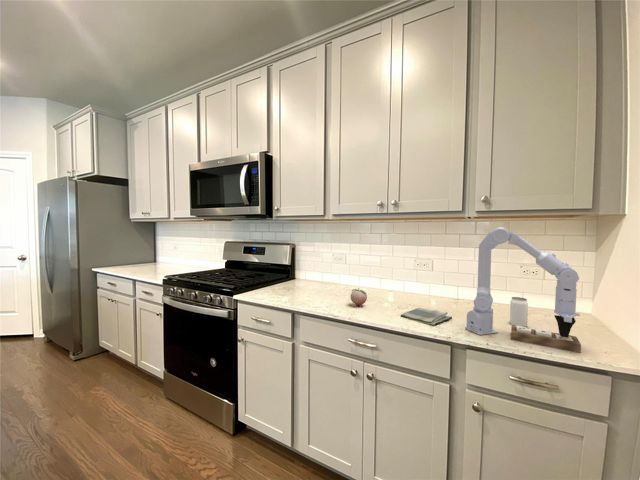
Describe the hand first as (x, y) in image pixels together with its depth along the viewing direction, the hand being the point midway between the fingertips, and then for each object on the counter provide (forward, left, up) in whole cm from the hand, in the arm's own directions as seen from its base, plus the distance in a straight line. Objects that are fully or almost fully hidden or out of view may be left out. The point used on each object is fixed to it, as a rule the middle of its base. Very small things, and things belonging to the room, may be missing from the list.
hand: (563, 336), depth 103 cm
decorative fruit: (-53, +68, -4) cm, 86 cm away
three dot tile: (-8, +9, -2) cm, 12 cm away
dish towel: (-29, +41, -4) cm, 50 cm away
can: (+5, +22, -4) cm, 23 cm away
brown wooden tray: (-4, +5, -3) cm, 7 cm away
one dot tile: (-4, +5, -3) cm, 7 cm away
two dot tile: (0, 0, -4) cm, 4 cm away
